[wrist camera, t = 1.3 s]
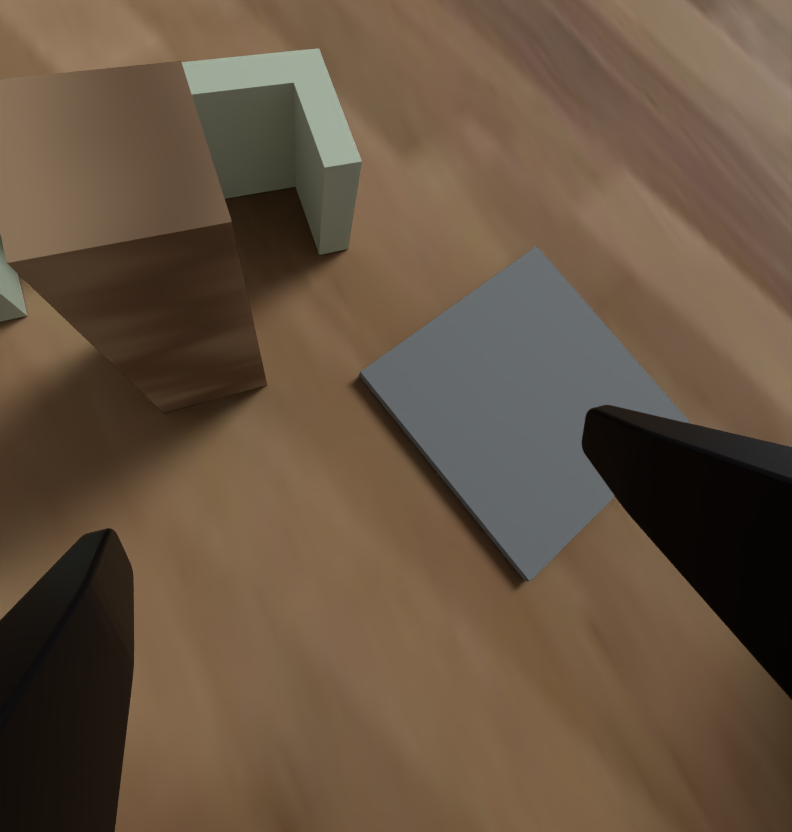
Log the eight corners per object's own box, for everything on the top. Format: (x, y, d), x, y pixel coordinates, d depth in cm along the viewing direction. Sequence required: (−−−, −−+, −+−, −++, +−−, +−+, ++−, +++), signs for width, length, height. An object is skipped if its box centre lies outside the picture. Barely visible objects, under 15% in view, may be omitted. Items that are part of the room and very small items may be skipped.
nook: (-13, 324, 21) (-129, 241, 15) (-35, 212, 22) (-153, 96, 16) (347, 249, 25) (361, 161, 19) (315, 157, 26) (318, 48, 20)
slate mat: (524, 580, 22) (529, 581, 22) (359, 376, 23) (360, 371, 23) (681, 424, 26) (689, 421, 25) (531, 252, 27) (536, 245, 26)
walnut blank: (163, 413, 21) (6, 263, 10) (138, 320, 22) (-33, 82, 11) (267, 385, 23) (232, 221, 11) (240, 297, 23) (181, 61, 12)
